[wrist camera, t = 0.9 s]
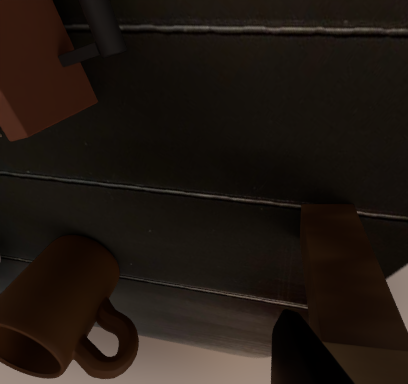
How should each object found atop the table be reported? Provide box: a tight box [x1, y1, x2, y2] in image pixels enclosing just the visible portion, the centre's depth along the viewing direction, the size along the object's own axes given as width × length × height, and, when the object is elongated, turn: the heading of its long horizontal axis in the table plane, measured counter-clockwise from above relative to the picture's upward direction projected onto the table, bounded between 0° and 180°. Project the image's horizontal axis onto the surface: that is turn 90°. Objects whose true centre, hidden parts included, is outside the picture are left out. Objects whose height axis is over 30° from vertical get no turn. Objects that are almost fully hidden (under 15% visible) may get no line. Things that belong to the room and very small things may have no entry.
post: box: [300, 204, 408, 351], centre depth 16 cm, size 3×3×10 cm
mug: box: [0, 235, 139, 379], centre depth 25 cm, size 12×8×9 cm, turn 76°
